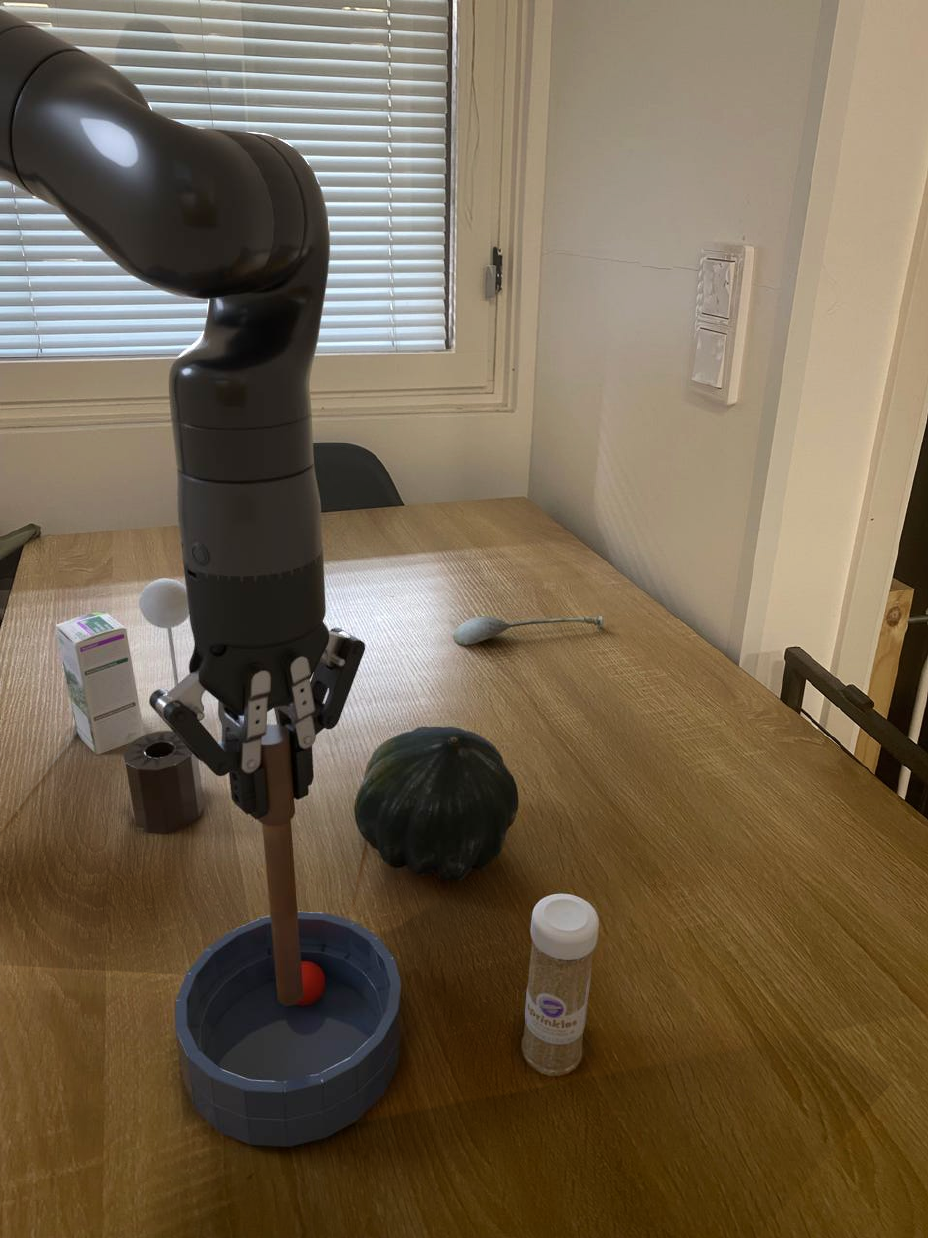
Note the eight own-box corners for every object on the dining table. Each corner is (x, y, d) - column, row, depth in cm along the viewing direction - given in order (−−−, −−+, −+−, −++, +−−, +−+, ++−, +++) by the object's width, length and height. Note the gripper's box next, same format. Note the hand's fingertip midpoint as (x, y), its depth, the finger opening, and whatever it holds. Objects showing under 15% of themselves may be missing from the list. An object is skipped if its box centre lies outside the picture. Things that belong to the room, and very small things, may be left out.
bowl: (152, 1146, 60) (141, 1084, 57) (219, 963, 74) (212, 907, 72) (388, 1159, 60) (387, 1097, 57) (410, 972, 74) (410, 916, 71)
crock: (124, 836, 88) (112, 768, 84) (148, 794, 94) (138, 729, 90) (191, 839, 88) (182, 771, 84) (211, 797, 94) (204, 732, 90)
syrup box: (147, 740, 103) (129, 625, 96) (95, 760, 99) (74, 642, 93) (125, 720, 106) (106, 607, 100) (74, 738, 103) (52, 623, 96)
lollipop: (213, 686, 114) (201, 576, 107) (181, 708, 109) (166, 594, 102) (174, 675, 116) (159, 567, 109) (141, 696, 111) (124, 584, 105)
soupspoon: (448, 633, 130) (458, 656, 125) (448, 612, 129) (458, 635, 123) (593, 616, 135) (609, 638, 129) (595, 596, 133) (611, 617, 127)
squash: (379, 737, 94) (361, 693, 81) (522, 755, 93) (529, 713, 80) (356, 877, 89) (332, 856, 75) (507, 897, 88) (511, 879, 74)
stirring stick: (269, 1009, 63) (244, 744, 54) (277, 982, 66) (254, 722, 56) (304, 1011, 63) (284, 746, 54) (310, 983, 66) (293, 724, 56)
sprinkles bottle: (520, 1076, 65) (531, 936, 60) (522, 1023, 70) (532, 888, 64) (584, 1082, 65) (601, 942, 59) (582, 1029, 69) (598, 893, 63)
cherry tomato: (280, 1014, 69) (277, 983, 68) (289, 981, 72) (286, 951, 71) (322, 1016, 69) (320, 986, 68) (329, 983, 72) (327, 953, 70)
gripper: (319, 501, 56) (330, 737, 64) (99, 554, 48) (142, 819, 55) (396, 534, 51) (398, 785, 59) (165, 600, 43) (202, 884, 50)
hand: (274, 800), depth 57 cm, fingers closed on stirring stick, 2 cm apart
